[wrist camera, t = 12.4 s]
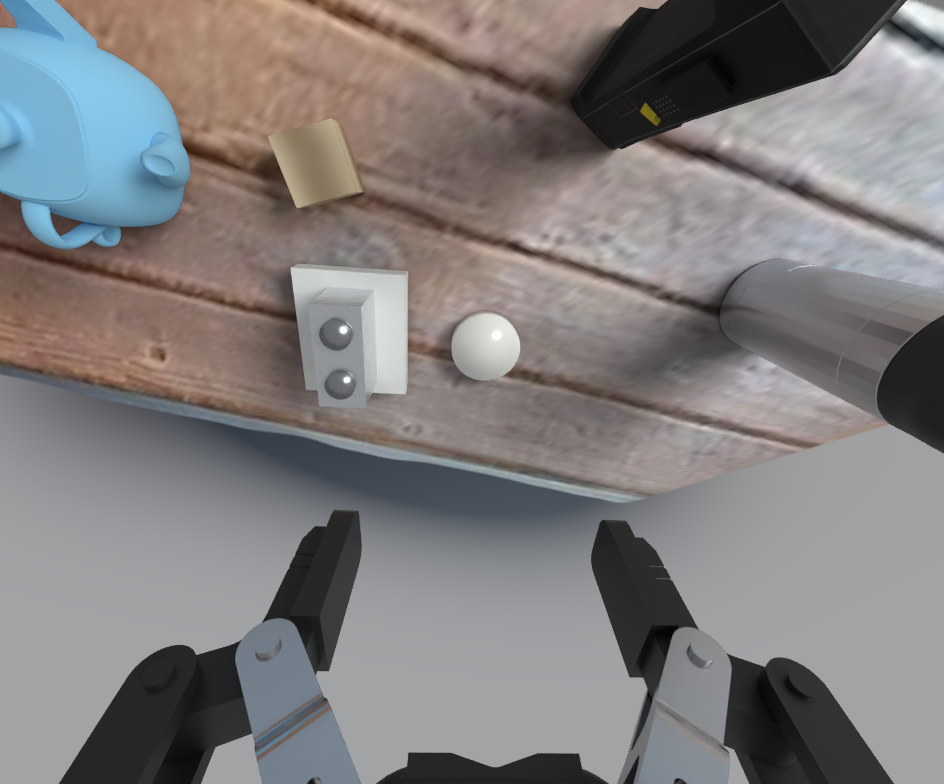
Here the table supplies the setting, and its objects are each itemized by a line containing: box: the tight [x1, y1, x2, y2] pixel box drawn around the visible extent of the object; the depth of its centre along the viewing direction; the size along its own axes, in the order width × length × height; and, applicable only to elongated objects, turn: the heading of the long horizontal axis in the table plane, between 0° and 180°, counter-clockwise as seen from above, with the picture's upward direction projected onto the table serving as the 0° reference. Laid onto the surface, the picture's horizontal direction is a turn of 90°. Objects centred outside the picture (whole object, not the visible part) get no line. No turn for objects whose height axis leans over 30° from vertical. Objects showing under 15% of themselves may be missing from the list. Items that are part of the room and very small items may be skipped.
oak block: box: [268, 118, 365, 208], centre depth 32 cm, size 5×5×4 cm
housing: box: [308, 287, 377, 408], centre depth 34 cm, size 4×9×7 cm, turn 176°
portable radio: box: [570, 0, 907, 150], centre depth 21 cm, size 8×6×25 cm
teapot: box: [0, 0, 190, 249], centre depth 27 cm, size 15×14×11 cm
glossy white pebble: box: [451, 310, 520, 381], centre depth 41 cm, size 7×7×2 cm
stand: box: [291, 264, 408, 394], centre depth 39 cm, size 10×12×3 cm
